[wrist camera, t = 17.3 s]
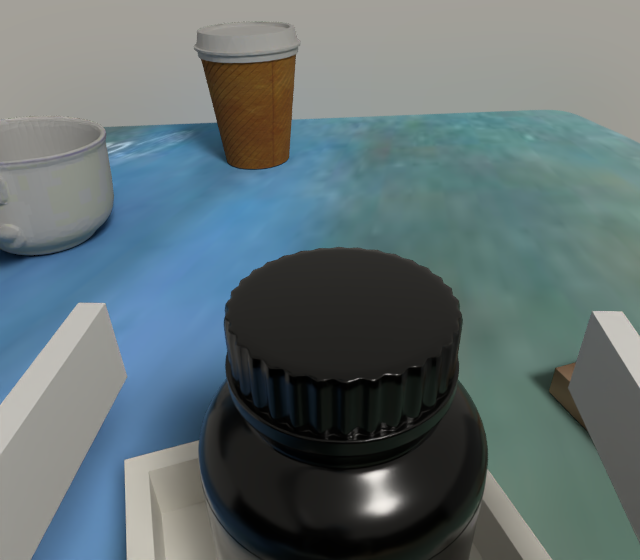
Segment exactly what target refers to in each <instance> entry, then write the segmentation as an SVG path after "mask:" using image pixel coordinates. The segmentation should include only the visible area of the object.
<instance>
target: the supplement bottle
mask: <svg viewBox="0 0 640 560" xmlns="http://www.w3.org/2000/svg"><path fill="white" fill-rule="evenodd" d="M462 323H463V319H462V314H461V312H460V304H459V300H458V299H457V298H456V297H454V296H453V293H452V288H450V287H449V286H447V285H446V284H444V283H443V280H442V278H441V277H439V276H437V275H435V274H433V273H432V272H431V271H430V270H429V269H428V268H426V267H424V266H421V265H418V264H417V263H416V262H414V261H413V260H409V259H405V258H402V257H400V256H398V255H396V254H390V253H384V252H381V251H379V250H366V249H362V248H343V247H336V248H319V249H315V250H311V251H300V252H298V253H296V254H292V255H286V256H282V257H281V258H279V259H278V260H274V261H271V262H267V263H266V264H265V265H264V266H263V267H261V268H258V269H255V270H253V271H252V272H251V274H250V275H249V276H248V277H246V278H244V279H242V280H241V281H240V283H239V286H238V287H236V288H235V289H234V290H232V291H231V299H230V300H228V302H227V303H226V305H225V318H224V331H225V338H226V345H227V355H226V364H225V366H226V377H227V378H226V379H225V381H224V382H223V383H222V385H221V386H220V387H219V389H218V390H217V392H216V394H215V395H214V397H213V399H212V401H211V403H210V405H209V407H208V409H207V412H206V414H205V417H204V420H203V423H202V426H201V431H200V437H199V446H198V458H199V470H200V478H201V483H202V488H203V493H204V498H205V503H206V508H207V512H208V517H209V522H210V526H211V531H212V536H213V541H214V545H215V550H216V555H217V560H469V556H470V551H471V547H472V543H473V538H474V534H475V529H476V525H477V520H478V516H479V511H480V507H481V502H482V498H483V494H484V489H485V482H486V475H487V466H488V446H487V439H486V433H485V430H484V426H483V423H482V420H481V417H480V415H479V413H478V410H477V408H476V406H475V404H474V402H473V400H472V399H471V397H470V395H469V394H468V392H467V391H466V389H465V388H464V386H463V385H462V384H461V383H460V381H459V380H458V374H459V361H458V350H459V344H460V337H461V331H462Z"/></svg>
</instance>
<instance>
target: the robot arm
mask: <svg viewBox="0 0 640 560" xmlns="http://www.w3.org/2000/svg"><path fill="white" fill-rule="evenodd" d="M126 378H127V374H126V371H125V368H124V364H123V361H122V358H121V354H120V351H119V348H118V344H117V341H116V338H115V334H114V331H113V328H112V324H111V321H110V318H109V314H108V311H107V308H106V304H105V303H78V304H77V305H76V307H75V308H74V309H73V311H72V312H71V313H70V315H69V316H68V317H67V319H66V320H65V321H64V322H63V324H62V325H61V326H60V328H59V329H58V330H57V332H56V333H55V334H54V336H53V337H52V338H51V339H50V341H49V342H48V343H47V345H46V346H45V347H44V349H43V350H42V351H41V353H40V354H39V355H38V356H37V358H36V359H35V360H34V362H33V363H32V364H31V366H30V367H29V368H28V370H27V371H26V372H25V373H24V375H23V376H22V377H21V379H20V380H19V381H18V383H17V384H16V385H15V387H14V388H13V389H12V390H11V392H10V393H9V394H8V396H7V397H6V398H5V400H4V401H3V402H2V404H1V405H0V560H31V558H32V557H33V555H34V553H35V551H36V549H37V547H38V545H39V543H40V541H41V539H42V538H43V536H44V534H45V532H46V530H47V528H48V526H49V524H50V522H51V520H52V519H53V517H54V515H55V513H56V511H57V509H58V507H59V505H60V503H61V501H62V500H63V498H64V496H65V494H66V492H67V490H68V488H69V486H70V484H71V482H72V481H73V479H74V477H75V475H76V473H77V471H78V469H79V467H80V465H81V463H82V462H83V460H84V458H85V456H86V454H87V452H88V450H89V448H90V446H91V444H92V443H93V441H94V439H95V437H96V435H97V433H98V431H99V429H100V427H101V425H102V424H103V422H104V420H105V418H106V416H107V414H108V412H109V410H110V408H111V406H112V405H113V403H114V401H115V399H116V397H117V395H118V393H119V391H120V389H121V388H122V386H123V384H124V382H125V380H126ZM568 389H569V391H570V393H571V395H572V398H573V400H574V402H575V404H576V406H577V408H578V411H579V413H580V415H581V417H582V419H583V421H584V424H585V426H586V428H587V430H588V432H589V434H590V437H591V439H592V441H593V443H594V445H595V447H596V450H597V452H598V454H599V456H600V458H601V461H602V463H603V465H604V467H605V469H606V471H607V474H608V476H609V478H610V480H611V482H612V484H613V487H614V489H615V491H616V493H617V495H618V497H619V500H620V502H621V504H622V506H623V508H624V510H625V513H626V515H627V517H628V519H629V521H630V524H631V526H632V528H633V530H634V532H635V534H636V537H637V539H638V541H639V543H640V336H639V335H638V333H637V332H636V330H635V329H634V327H633V326H632V325H631V323H630V322H629V320H628V319H627V317H626V316H625V315H624V313H623V312H618V311H592V313H591V316H590V319H589V323H588V326H587V329H586V332H585V335H584V339H583V342H582V345H581V348H580V351H579V355H578V358H577V361H576V364H575V367H574V371H573V374H572V377H571V380H570V383H569V387H568Z"/></svg>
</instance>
